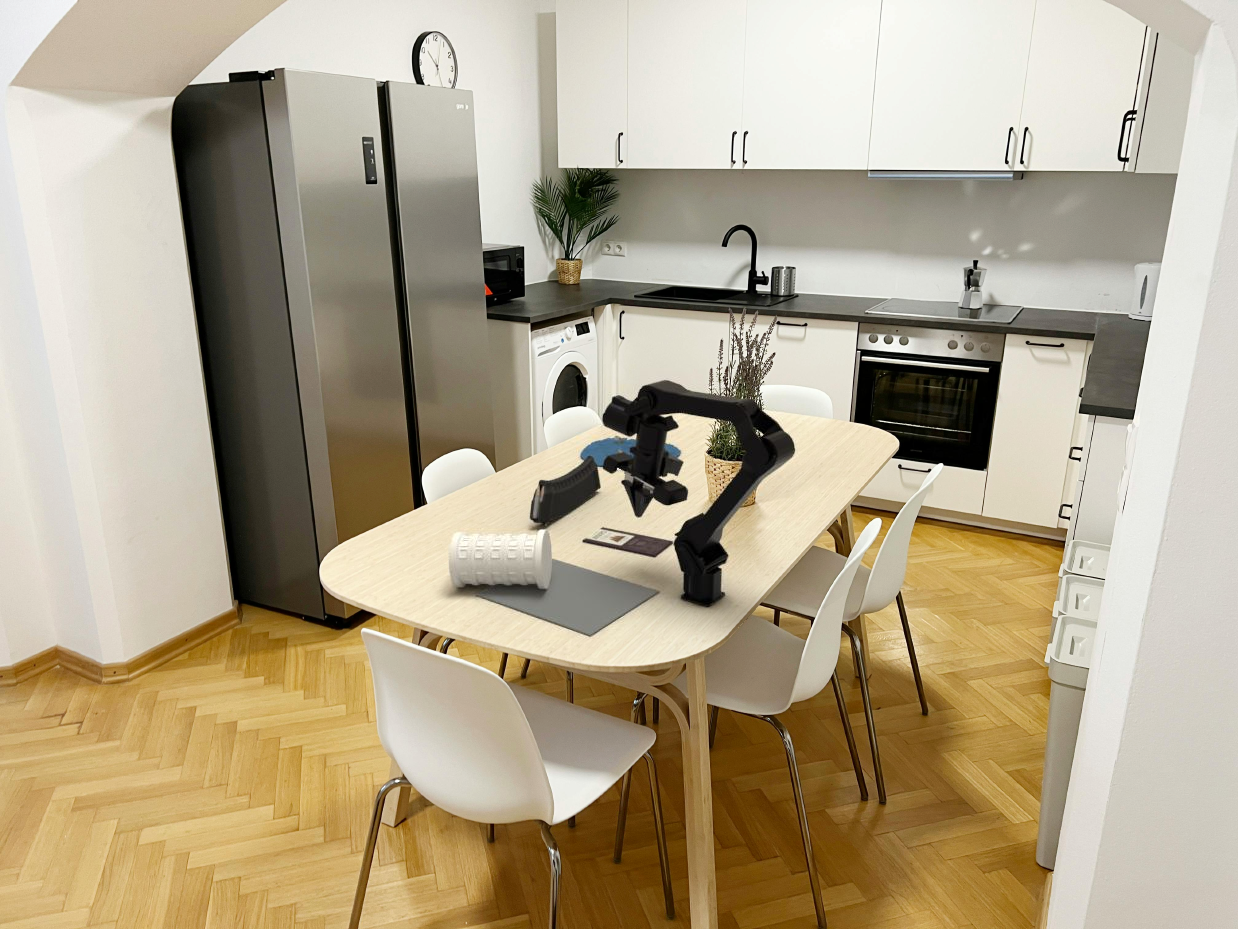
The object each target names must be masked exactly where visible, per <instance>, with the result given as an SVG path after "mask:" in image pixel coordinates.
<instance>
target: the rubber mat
mask: <svg viewBox="0 0 1238 929" xmlns="http://www.w3.org/2000/svg"><path fill="white" fill-rule="evenodd" d="M658 594H660V590H657V589H653V588H650V587H649V586H648V587H647V586H644V585H642V584H639V583H638V584H637V583H635V582H631V581H628V580H625V579H620V578H618V577H615V576H611V575H608V574H606V573H601V572H597V571H594V570H591V569H588V568H585V567H581V566H578V565H575V564H572V563H568V562H565V561H562V560H558V559H555V558H552V569H551V579H550V583H549V586H548V588H547V589H539V588H538V585H537V584H529V585H521V584H513V585H505V584H497V585H491V586H490V587H489V588H487V589H485V590H482V591H480V592H479V593H478V592H477V593H476V594H475V596H476V597H478V598H481V599H483V600H487V601H490V602H492V603H495V604H498V605H501V606H502V607H506V608H509V609H512V610H515V611H517V612H520V613H523V614H526V615H527V616H528V615H529V616H531V617H535V618H538V619H541V620H543V621H546V622H548V623H551V624H553V625H557V626H560V627H562V628H566V629H568V630H571V631H573V632H577V633H578V634H579V633H580V634H582V635H586V636H587V637H592V636H593V635H595V634H596V633H598V632H600V631H602V630H603V629H604V628H606V627H608V626H609V625H611V624H612V623H614V622H616V621H617V620H619V619H620V618H622V617H623V616H625V615H627V614H628V613H629V612H631V611H633V610H634V609H636V608H637V607H639V606H641V605H642V604H644V603H645V602H648V600H650V599H652V598H653V597H655V596H656V595H658Z"/></svg>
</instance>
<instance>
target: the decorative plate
mask: <svg viewBox="0 0 1238 929" xmlns="http://www.w3.org/2000/svg"><path fill="white" fill-rule="evenodd" d="M635 442H636V438H629V439H628V437H621V436H620V435H615V436H614V437H607V438H604V439H598V440H595V441H592V442H591V443H590V444H588V445H586V446H585V447H584V448H583V449H582V450H581V452H580V458H581V459H583V461H584V460H585V459H586V458H587V456H592V457H593V458H594V461H595V463H596V464H597V467H603V464H604V460H605V458H606V457H607V456H609V455H613V454H618V453H622V452H625V453H626V454H628V455H630V456H632V457H633V455H634V454H632V453H630V447H634V446H635ZM665 450H666V451H668V453H669V454H670V455H672V456H674V457H676V458H677V457H678V456H679V455H681V452H682V450H681V449H680V448H678V447H677V446H675V445H673V444H671V443H667V442H666V443H665ZM617 468H618V467H617ZM619 469H620V468H619Z"/></svg>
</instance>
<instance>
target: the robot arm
mask: <svg viewBox="0 0 1238 929" xmlns="http://www.w3.org/2000/svg"><path fill="white" fill-rule="evenodd" d="M673 414H675V415H676V414H684V415H689V416H696V417H700V418H706V419H712V420H719V421H725V422H730V423H731V424H732V426H733V427H734V428H735V431H736V432H735V433H736V435H737V438H738V441H739V444H740V446H741V447H742V448H743V450H744V451H745V452H744V455H743V456H742V461H741V465H740V469H739V470H738V471H737V473H736V474H735V476H734V477H733V478H731V480H730V482H729V483H728V484H727V485H726V487H725V488H724V489H723V490H722V492H721V493H720V494H719V496H718V497H717V498H715V501H714V502H713V503H712V504H711V505H710V507H709V508H708V509H707V510H706V512H705V513H704V512H702V513H700V514H696V515H695V516H693V517H691V518H689V519H687V520H685V521H684V522H683V523H682V525H681V528H680V529H679V530H678V532H675V533H674V536H675V538H674V540H673V544H672V545H673V546H674V552H675V553H676V556H677V561H678V565H679V568H680V571H681V573H683V577H682V578H683V582H682V583H683V584H682V590H683V592H684V593H682V594H681V595H680V599H682V600H685V601H688V602H691V603H694V604H698V605H701V606H703V607H711V606H712V605H714V604H715V603H716V602H718V601H719V600H721V599H722V598H723V596H724V597H725V596H726V592H724V591H722V576H723V575H722V573H723V572H722V571H723V568H721V566H722V565H725V564H727V561H728V559H729V553H728V552H727V550H726V549H725V548H724V546H723V545H722V544H721V540H722V537H723V531H724V528H725V527H726V525H727V524H728V523H729V522H730V521H731V519H732V518H733V517H734V515H735V514H736V513H737V512H738V510H739V509H740V508H741V507H742V506H743V504H744V503H745V502H746V501H747V500H748V499H749V497H750V496H751V495H752V494H753V492H754V491H755V490H756V489H757V488H758V486H759V485H760V484H761V483H762V482H763V480H765V479H766V478H767V477H768V476H770V475H771V474H772V473H774V472H775V471H777V470H778V469H780V468H781V467H782V466H784V464H786V463H788V461H790V460H791V459H792V458H793V457H794V456H795V453H796V448H795V442H794V440H793V438H792V437H791V435H790V434H789V433H787V432H786V431H785V430H784V429H783V428H782V426H781V425H780V424H779V422H778V421H776V420H775V419H774V418H773V417H772V416H771V415H769V414H768V413H767V412H765V411H764V410H763V409H762V408H761V407H760V405H759V404H758V403H757V402H756V401H755V400H754V399H751V398H750V397H749V398H747V397H745V398H739V397H734V396H726V395H722V394H721V395H720V394H712V393H706V392H700V391H695V390H694V391H693V390H689V389H687V388H686V387H685V386H683V385H682V384H679V383H677V382H674V381H671V380H668V379H663V380H660V381H655V382H651V383H648V384H645V385H642V386H641V387H640V389H639V390H638V393H637V396H636V397H635V398H634V399H633V400H629V399H628V398H625V397H624V396H623V395H619V394H618V395H615V396H612V397H611V402H610V403H609V404H608V405H607V407H606V408H605V409H604V412H603V414H602V417H601V418H602V424H603V426H604V427H606V428H607V429H610V430H612V431H614V432H617V433H619V434H621V435H623V436H626V437H627V438H628V437H630V438H631V437H633V436H635V435H636V437H635V439H636V442H635V446H634V447H630V453H632V454H634V455H633V457H632V456H630V455H628V454H626V453H625V452H622V453H618V454H613V455H609V456H607V457H606V458H605V460H604V464H603V466H602V470H603V471H606V472H607V473H609V474H611V475H613V474H614V473H616V472H617V471H618V470H617V467H618V468H620V469H621V470H623V471H622V472H623V474H624V477H623V478H624V479H622V480H621V482H620V484H621V485H622V486H623V487H624V489H625V492H626V494H627V497H628V499H629V502H630V504H631V508H632V511H633V513H634V516H635V517H636V518H637V519H638V518H642V517H643V515H644V513H645V512H646V510H647V508H648V507H649V505H650V504H651V502H652V500H654V501H656V502H658V503H659V504H661V505H663V506H666V507H667V506H669V507H670V506H672V505H675V504H678V503H681V502H685V501H688V495H689V489H688V487H687V486H685V484H682V483H680V482H678V481H677V480H675V479H671V480H667V481H666V480H665V479H663V478H665V477H668V474H670V475H674V476H676V477H678V476H679V474H680V472H681V470H682V467H683V466H684V461H683V460H682V459H681V458H677V457H674V456H672V455H670V454H669V453H668V451H666V450H665V443H667V441H666V440H667V436H668V432H671V431H675V430H677V429H679V427H680V425H679V424H678V422H677V421H676V420H675V419H674V417H673ZM665 415H668V416H665ZM755 430H757V431H758V432H760V433H761V434H762V436H759V435H758V434H757V432H756V431H755ZM661 477H662V478H661Z"/></svg>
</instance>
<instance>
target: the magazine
mask: <svg viewBox="0 0 1238 929" xmlns="http://www.w3.org/2000/svg"><path fill="white" fill-rule="evenodd" d="M601 487H602V486H601V479H600V474H599V466H598V465H597V464H596V463H595V461H594V458H593V457H592V456H587V458H586V459H585V460H584V459H583V461H582V462H581V463H580V464H579V465H578V466H576V467H575V468H573V469H571V470H570V471H569V472H567V473H565V474H564V475H561V476H558V477H556V478H553V479H550V480H546V479H539V481H538V485H537V487H536V489H535V490H534V493H533V497H532V500H531V502H530V503H531V504H530V512H529V519H530V521H533V523H535V524H540V526H541V527H546V526H547V523H549V522H552V521H554V520H556V519H559V518H563V517H565V516H566V515H569V514H570V513H572V512H573V511H575V510H576V509H578V508H579V507H580V505H581V506H582V505H583V504H584V503H585V502H587V501H588V500H589V499H590V498H591V497H592V496H593V495H594V494H595V493H596V492H597V491H598V490H600V489H601Z"/></svg>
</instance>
